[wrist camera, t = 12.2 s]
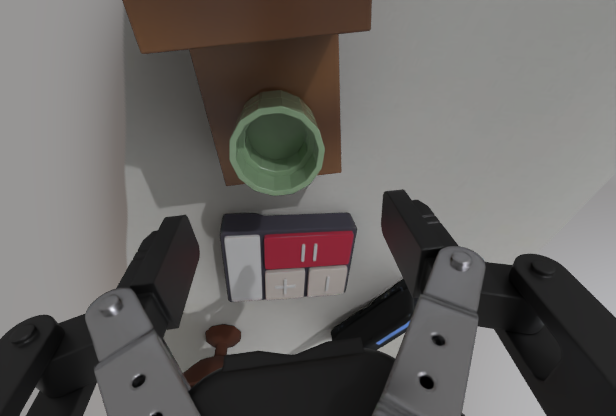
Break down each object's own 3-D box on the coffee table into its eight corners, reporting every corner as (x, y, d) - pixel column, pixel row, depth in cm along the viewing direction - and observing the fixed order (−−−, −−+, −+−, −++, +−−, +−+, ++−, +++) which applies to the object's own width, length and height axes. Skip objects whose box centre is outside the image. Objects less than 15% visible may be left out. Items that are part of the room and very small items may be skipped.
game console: (365, 348, 52) (380, 405, 45) (309, 319, 46) (316, 378, 39) (440, 301, 47) (471, 357, 39) (388, 261, 41) (414, 317, 33)
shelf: (185, -46, 22) (81, -113, 10) (322, -59, 22) (376, -138, 10) (233, 157, 30) (209, 248, 19) (330, 146, 31) (365, 228, 19)
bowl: (228, 93, 21) (217, 113, 17) (313, 84, 22) (322, 101, 17) (245, 168, 25) (239, 200, 21) (318, 160, 25) (327, 189, 21)
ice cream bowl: (259, 312, 44) (254, 430, 32) (256, 355, 50) (251, 468, 38) (184, 312, 42) (147, 436, 30) (190, 356, 48) (162, 475, 36)
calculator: (347, 298, 39) (227, 308, 36) (339, 273, 42) (230, 281, 40) (360, 230, 33) (218, 237, 30) (349, 209, 36) (222, 213, 34)
